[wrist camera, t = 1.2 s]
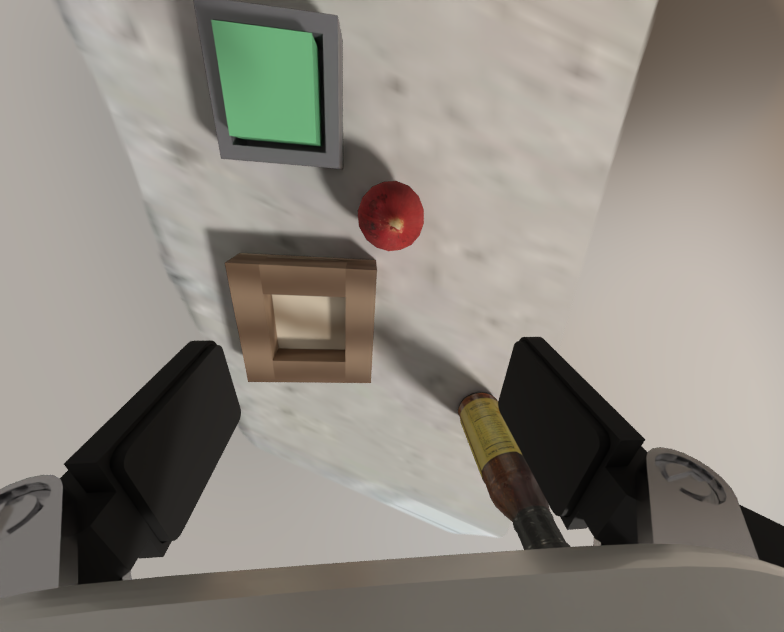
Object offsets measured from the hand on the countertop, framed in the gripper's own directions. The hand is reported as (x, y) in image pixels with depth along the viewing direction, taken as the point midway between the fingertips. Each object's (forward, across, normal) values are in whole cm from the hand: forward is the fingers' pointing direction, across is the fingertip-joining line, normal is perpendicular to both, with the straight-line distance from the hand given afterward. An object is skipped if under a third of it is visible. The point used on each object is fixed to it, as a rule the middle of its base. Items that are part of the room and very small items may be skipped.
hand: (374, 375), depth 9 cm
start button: (+20, +7, -11) cm, 24 cm away
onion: (+23, -2, -2) cm, 23 cm away
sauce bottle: (+23, -16, +24) cm, 37 cm away
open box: (+22, +7, +10) cm, 25 cm away
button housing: (+23, +7, -10) cm, 26 cm away
